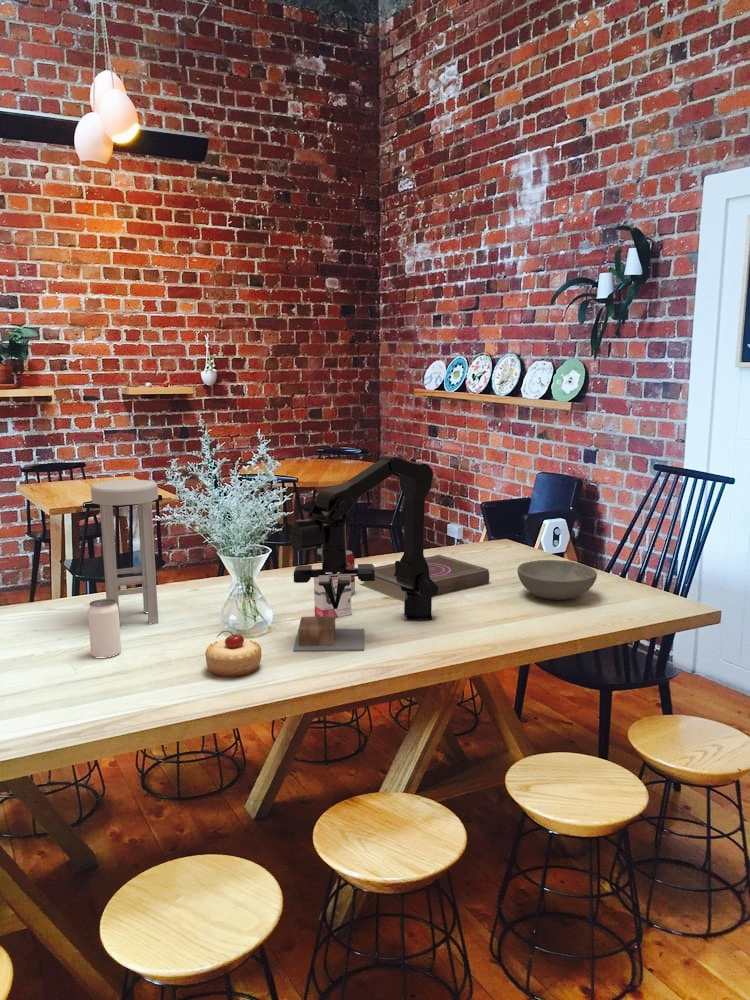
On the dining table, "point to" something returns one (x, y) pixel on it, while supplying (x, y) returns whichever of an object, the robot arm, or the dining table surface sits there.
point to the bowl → (556, 578)
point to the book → (432, 577)
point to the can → (104, 628)
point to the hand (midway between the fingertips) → (335, 608)
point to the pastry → (233, 656)
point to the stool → (143, 496)
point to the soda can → (351, 565)
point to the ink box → (324, 604)
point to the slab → (317, 631)
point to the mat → (338, 642)
